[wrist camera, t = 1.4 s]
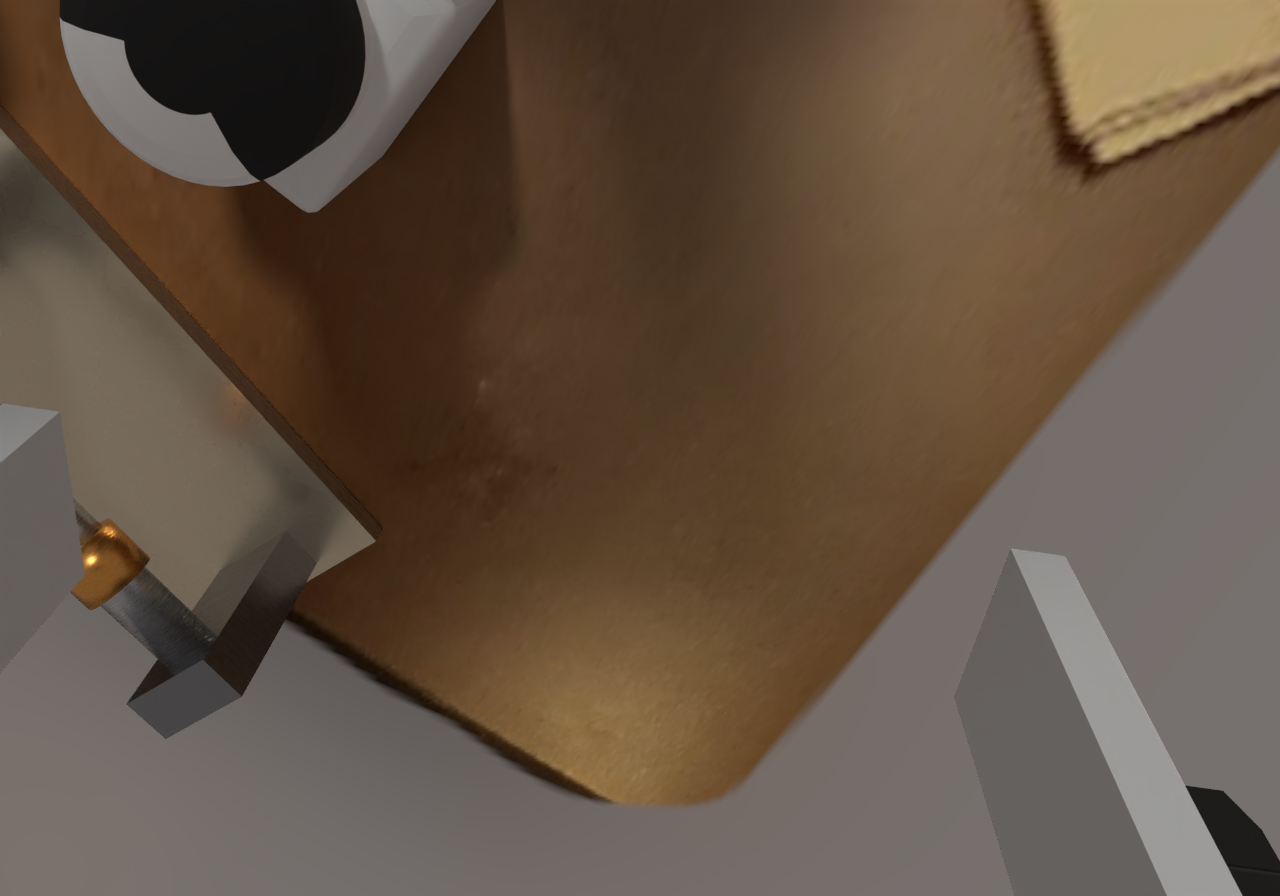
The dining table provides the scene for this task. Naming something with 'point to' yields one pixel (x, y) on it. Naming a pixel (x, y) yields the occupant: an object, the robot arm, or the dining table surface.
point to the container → (262, 82)
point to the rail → (159, 450)
